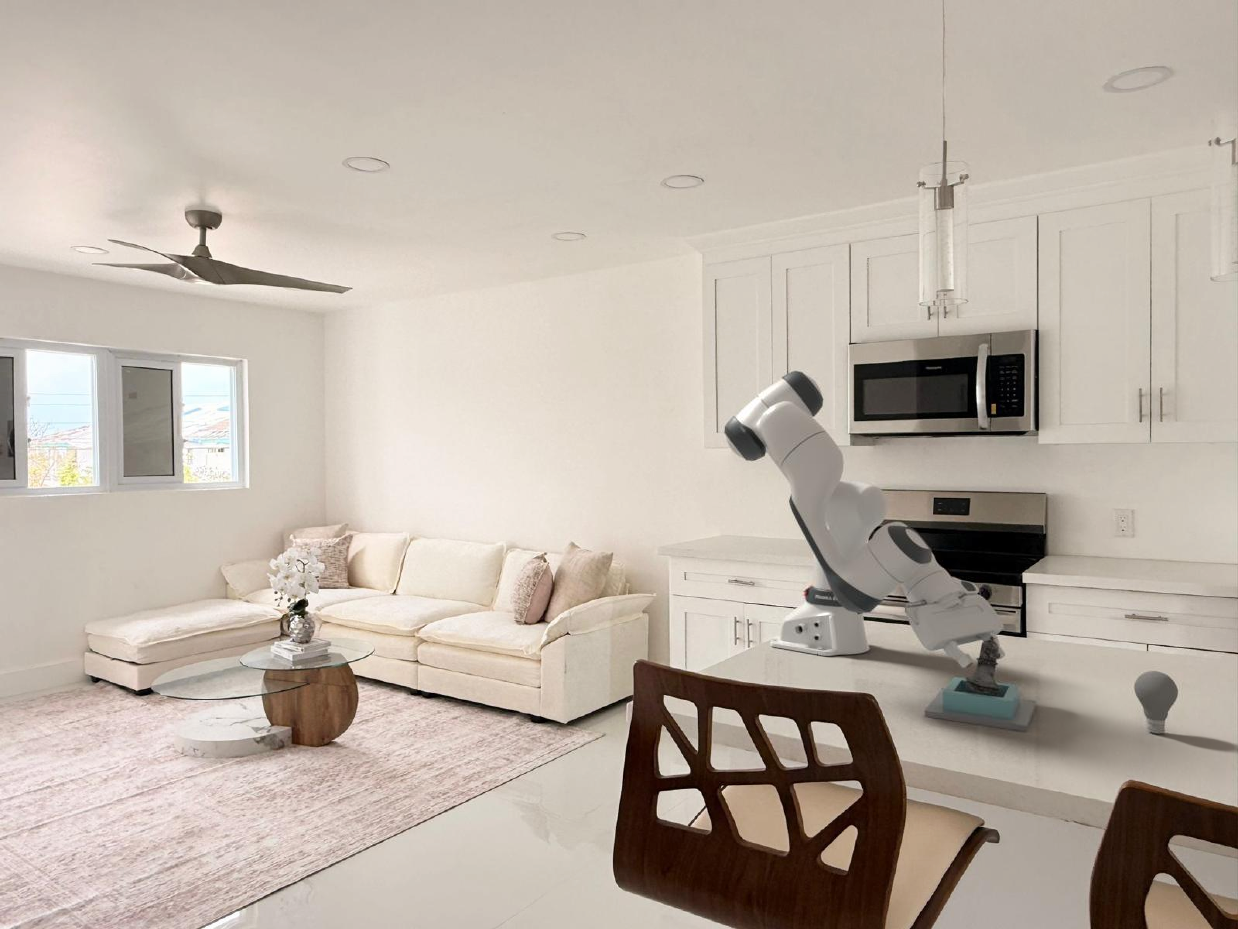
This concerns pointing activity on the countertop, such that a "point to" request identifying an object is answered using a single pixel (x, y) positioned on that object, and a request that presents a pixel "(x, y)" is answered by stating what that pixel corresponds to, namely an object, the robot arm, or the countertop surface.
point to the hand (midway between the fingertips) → (984, 661)
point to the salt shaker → (985, 671)
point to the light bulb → (1155, 698)
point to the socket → (982, 706)
